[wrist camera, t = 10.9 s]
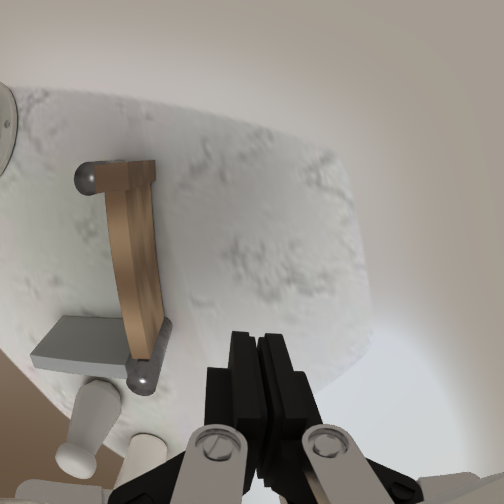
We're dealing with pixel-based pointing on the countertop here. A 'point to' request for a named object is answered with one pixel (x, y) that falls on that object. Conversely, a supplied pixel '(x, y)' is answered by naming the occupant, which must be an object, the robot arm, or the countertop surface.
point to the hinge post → (150, 364)
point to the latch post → (89, 176)
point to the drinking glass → (141, 457)
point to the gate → (133, 249)
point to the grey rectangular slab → (85, 348)
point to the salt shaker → (89, 427)
